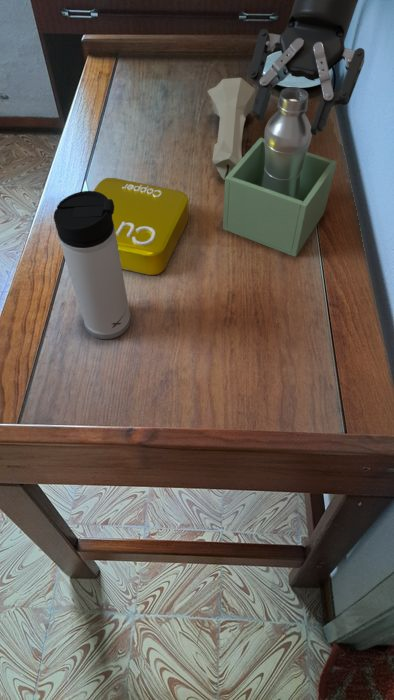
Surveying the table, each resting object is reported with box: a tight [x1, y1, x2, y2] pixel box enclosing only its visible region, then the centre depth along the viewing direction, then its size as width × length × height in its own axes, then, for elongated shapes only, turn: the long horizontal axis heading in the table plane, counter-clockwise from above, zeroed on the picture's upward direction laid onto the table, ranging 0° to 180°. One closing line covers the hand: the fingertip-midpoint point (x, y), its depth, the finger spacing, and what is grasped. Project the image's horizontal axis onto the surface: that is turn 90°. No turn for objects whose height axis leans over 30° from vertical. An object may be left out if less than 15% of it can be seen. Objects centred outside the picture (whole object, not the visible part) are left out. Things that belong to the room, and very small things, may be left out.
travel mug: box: [53, 190, 131, 340], centre depth 62 cm, size 6×7×20 cm
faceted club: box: [207, 77, 256, 180], centre depth 90 cm, size 9×8×25 cm
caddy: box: [222, 137, 338, 258], centre depth 78 cm, size 13×12×10 cm
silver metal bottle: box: [261, 86, 313, 200], centre depth 73 cm, size 6×7×20 cm
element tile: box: [93, 177, 190, 276], centre depth 78 cm, size 15×15×5 cm
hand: (285, 126), depth 67 cm, fingers open, 7 cm apart
